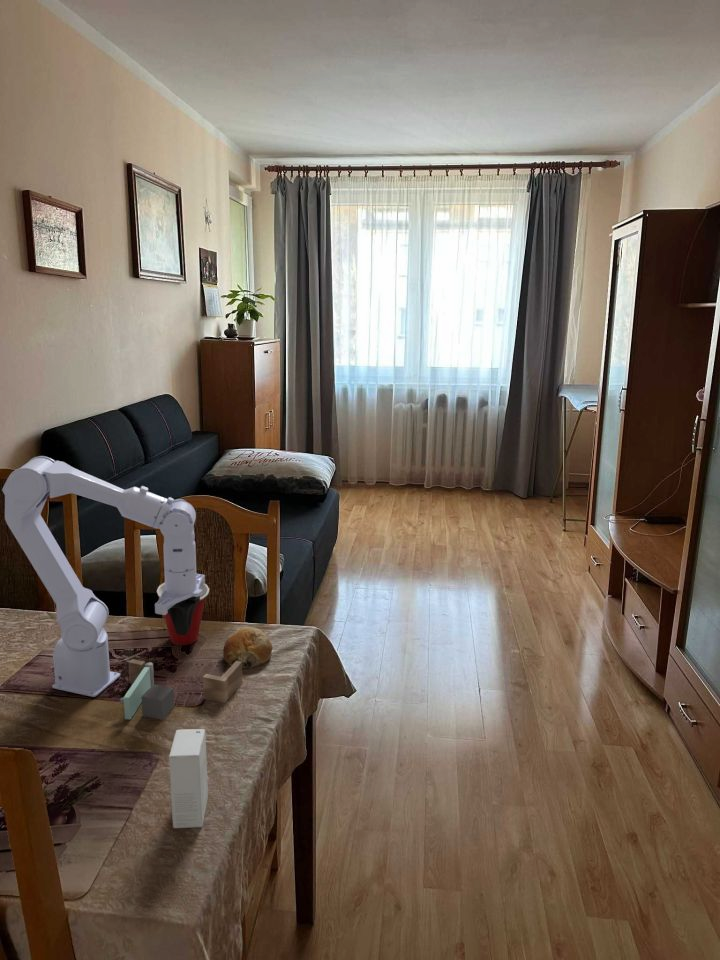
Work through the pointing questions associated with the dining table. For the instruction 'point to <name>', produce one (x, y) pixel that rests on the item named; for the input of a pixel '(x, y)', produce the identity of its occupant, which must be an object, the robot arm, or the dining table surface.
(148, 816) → the dining table surface
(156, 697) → the gray cube block
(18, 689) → the dining table surface
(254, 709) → the dining table surface
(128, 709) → the door
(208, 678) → the wooden blocks
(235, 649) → the bread roll
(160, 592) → the plastic cup
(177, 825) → the skincare box
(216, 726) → the dining table surface
